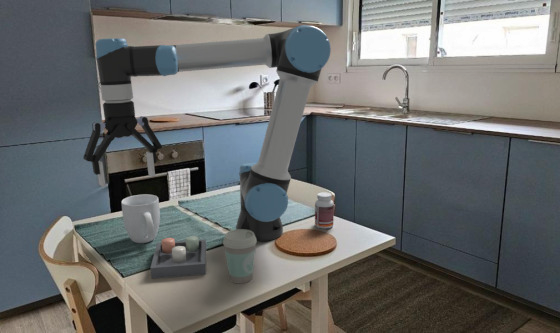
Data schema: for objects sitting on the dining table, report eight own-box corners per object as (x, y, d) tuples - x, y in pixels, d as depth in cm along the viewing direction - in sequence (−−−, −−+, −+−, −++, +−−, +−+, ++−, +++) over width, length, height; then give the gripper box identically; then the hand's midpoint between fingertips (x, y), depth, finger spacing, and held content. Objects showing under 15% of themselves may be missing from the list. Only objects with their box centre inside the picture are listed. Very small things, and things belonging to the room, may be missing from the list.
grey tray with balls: (206, 248, 133) (205, 239, 132) (206, 274, 117) (205, 263, 117) (157, 252, 131) (157, 242, 130) (151, 278, 115) (150, 268, 115)
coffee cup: (244, 289, 110) (243, 244, 107) (217, 280, 114) (215, 237, 111) (264, 275, 117) (263, 232, 114) (237, 267, 121) (236, 225, 118)
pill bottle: (337, 225, 149) (337, 194, 147) (325, 230, 145) (325, 198, 143) (323, 220, 154) (323, 190, 151) (311, 225, 150) (311, 194, 147)
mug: (171, 245, 135) (168, 204, 132) (134, 254, 129) (130, 211, 126) (155, 229, 147) (152, 192, 144) (121, 237, 141) (116, 198, 138)
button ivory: (186, 256, 122) (185, 245, 122) (185, 262, 119) (185, 251, 118) (173, 257, 122) (172, 246, 121) (172, 263, 118) (171, 252, 118)
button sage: (199, 246, 129) (198, 235, 128) (198, 251, 125) (198, 240, 125) (186, 246, 128) (185, 236, 127) (185, 252, 125) (185, 241, 124)
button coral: (175, 247, 128) (175, 237, 127) (174, 253, 124) (174, 242, 124) (162, 248, 127) (162, 238, 127) (161, 254, 124) (160, 243, 123)
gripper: (157, 95, 125) (164, 169, 130) (62, 105, 110) (75, 187, 115) (169, 97, 119) (176, 173, 125) (71, 107, 104) (84, 193, 109)
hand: (128, 180), depth 120 cm, fingers open, 13 cm apart
